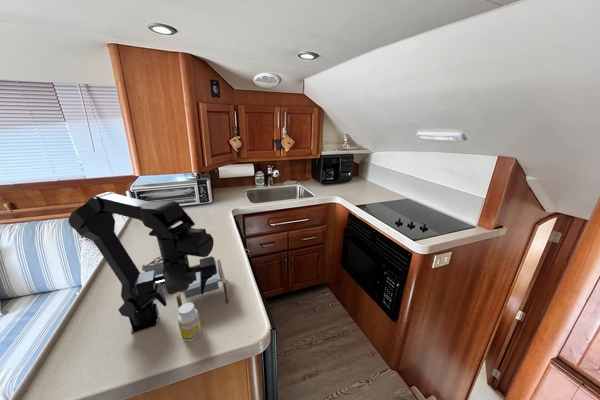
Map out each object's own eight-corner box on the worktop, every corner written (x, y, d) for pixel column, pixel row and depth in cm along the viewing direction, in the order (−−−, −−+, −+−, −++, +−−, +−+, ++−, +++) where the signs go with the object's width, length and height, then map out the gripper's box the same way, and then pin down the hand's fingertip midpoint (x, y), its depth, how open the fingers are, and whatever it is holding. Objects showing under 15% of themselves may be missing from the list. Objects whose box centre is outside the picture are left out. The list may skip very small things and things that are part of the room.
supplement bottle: (196, 341, 65) (191, 315, 62) (178, 341, 65) (171, 315, 62) (204, 325, 71) (199, 300, 67) (187, 325, 71) (181, 300, 67)
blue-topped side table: (181, 318, 73) (176, 297, 70) (181, 289, 86) (177, 270, 83) (228, 302, 79) (225, 282, 76) (222, 277, 92) (219, 259, 89)
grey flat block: (181, 299, 72) (179, 292, 71) (181, 273, 84) (180, 266, 83) (223, 287, 77) (221, 280, 76) (217, 264, 89) (216, 258, 88)
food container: (159, 292, 85) (153, 269, 81) (147, 288, 87) (140, 265, 83) (185, 272, 96) (181, 251, 92) (174, 269, 98) (169, 248, 94)
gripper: (122, 279, 48) (140, 335, 53) (215, 257, 56) (223, 307, 61) (132, 253, 58) (146, 303, 63) (210, 237, 65) (217, 282, 70)
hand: (184, 299), depth 64 cm, fingers open, 9 cm apart
